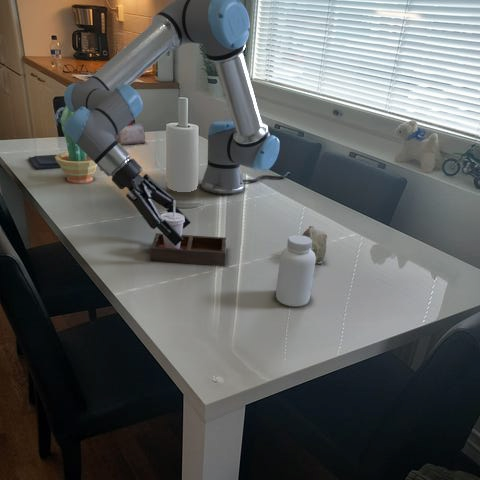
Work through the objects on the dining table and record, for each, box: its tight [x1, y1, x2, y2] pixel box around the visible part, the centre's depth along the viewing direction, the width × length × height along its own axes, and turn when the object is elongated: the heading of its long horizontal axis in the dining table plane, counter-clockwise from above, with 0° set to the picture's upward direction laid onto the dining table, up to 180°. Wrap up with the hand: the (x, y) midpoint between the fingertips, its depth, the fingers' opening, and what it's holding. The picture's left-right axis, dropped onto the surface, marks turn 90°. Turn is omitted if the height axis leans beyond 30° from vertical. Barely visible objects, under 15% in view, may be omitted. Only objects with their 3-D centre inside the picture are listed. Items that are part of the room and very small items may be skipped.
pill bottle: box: [275, 234, 316, 307], centre depth 113 cm, size 8×8×15 cm
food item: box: [114, 121, 146, 146], centre depth 227 cm, size 14×8×10 cm, turn 123°
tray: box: [150, 232, 227, 266], centre depth 132 cm, size 10×19×4 cm, turn 90°
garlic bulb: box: [301, 225, 328, 264], centre depth 134 cm, size 9×8×10 cm
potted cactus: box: [54, 105, 98, 184], centre depth 174 cm, size 15×15×25 cm
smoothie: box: [160, 199, 185, 249], centre depth 129 cm, size 6×6×14 cm
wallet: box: [28, 154, 61, 170], centre depth 196 cm, size 20×2×15 cm
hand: (183, 233), depth 130 cm, fingers open, 11 cm apart
